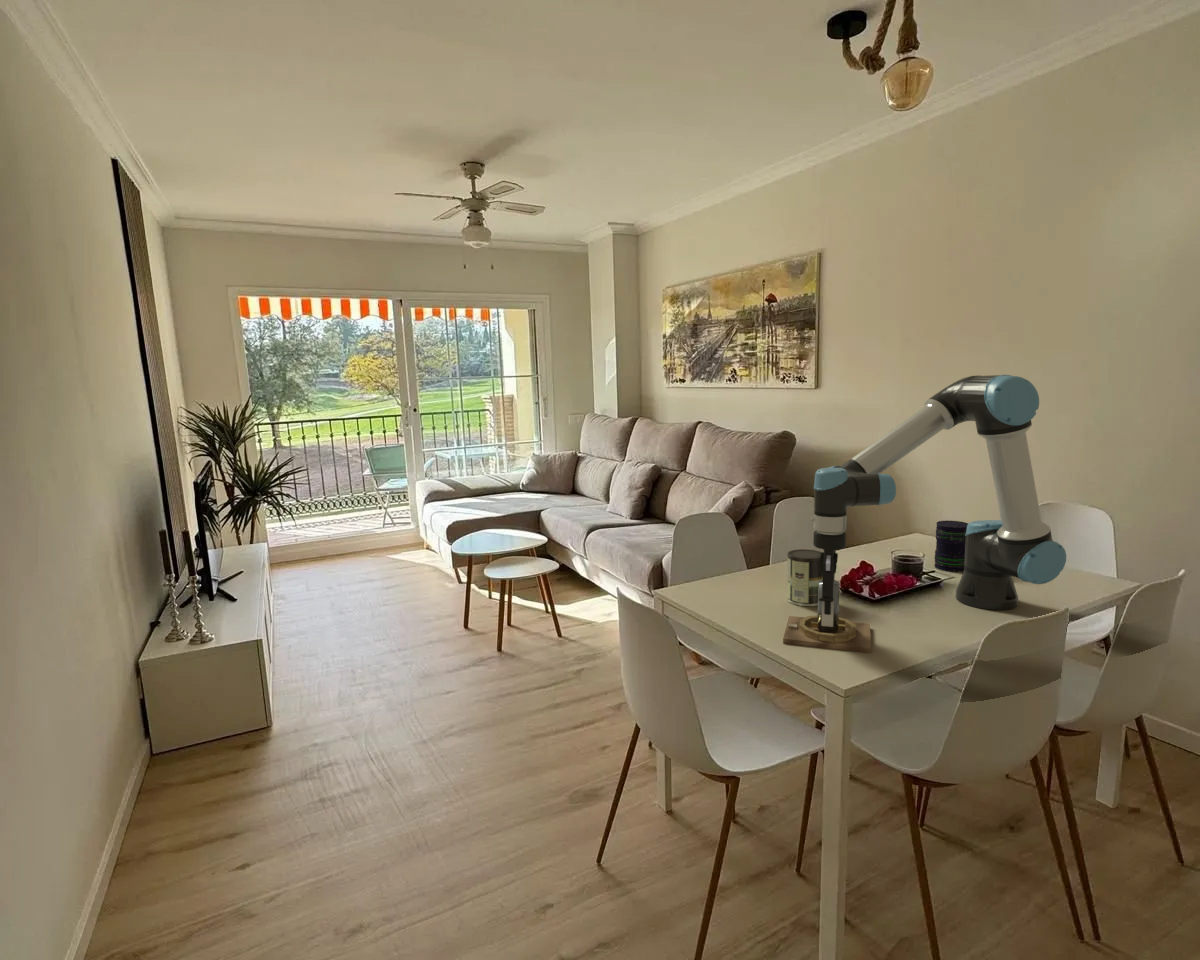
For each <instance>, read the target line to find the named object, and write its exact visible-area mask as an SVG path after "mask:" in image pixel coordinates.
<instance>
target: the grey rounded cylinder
mask: <svg viewBox="0 0 1200 960" xmlns="http://www.w3.org/2000/svg"><path fill="white" fill-rule="evenodd" d="M819 598H822V580H819V581H818V606H817V615H818V622H813V621H811V628H818V629H819V630H821V631H824V632H836V631H838V630H840V631H845V625H844V624H839V616H840V581H838V580H834V583H833V599H834V610H833V627H829V626H821V623H822V601H819Z"/></svg>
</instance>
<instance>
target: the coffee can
mask: <svg viewBox="0 0 1200 960" xmlns="http://www.w3.org/2000/svg"><path fill="white" fill-rule="evenodd" d="M821 552H822V551H820V550H815V549H805V548H804V549H802V548H800V549H799V548H798V549H793V550H790V551H788V552H787V553H786V555H787V598H786V599H787V601H788V602H789V603H790V604H792V605H795V606H799V607H818V581H819V580H822V579H823V573H822V572H821V561H820V556H821Z"/></svg>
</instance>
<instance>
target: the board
mask: <svg viewBox="0 0 1200 960" xmlns="http://www.w3.org/2000/svg"><path fill="white" fill-rule="evenodd" d="M811 621H813V622H818V614H817V615H808V616H806V617H805V616H796V615H795V616H794V615H793V616H792V615H788V620H787V623H786V626H785V630H784V633H783V637H782V643H783V644H786V645H787V644H788V645H796V646H803V647H804V646H805V647H813V648H815V647H816V648H820V649H821V648H823V649H832V650H840V651H848V652H849V651H850V652H856V653H857V652H859V653H860V652H861V653H865V654H866V653H868V654H871V653H872V641H871V640H872V639H871V638H872V637H871V623H868V622H867V623H866V622H858V621H857V622H855V621H851V620H849V619H846V618H843V617H839V624H844V625H845V631H840V630H838V631H836V632H824V631H821V630H819V629H818V628H811Z"/></svg>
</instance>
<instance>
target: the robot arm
mask: <svg viewBox="0 0 1200 960" xmlns="http://www.w3.org/2000/svg"><path fill="white" fill-rule="evenodd" d="M1039 396H1040V395H1039V392H1038V390H1037V388H1036V386H1035V385H1034V384H1033V383H1032V382H1031V381H1030V380H1028V379H1026V378H1025V377H1022V376H1018V375H1011V374H998V375H997V374H996V375H995V374H994V375H993V374H991V375H970V376H966V377H963V378H960V379H958V380H957V381H955V382H952V383H951V384H949V385H948V386H945V387H944V388H943V389H941V390H940V391H938V392H937V393H935V394H933V395H932V396H931V397H930V398H928V399H927V400H925V401H924V405H923V407H922V408H921V409H919V410H918V411H917V412H915V413H914V414H912V415H911V416H910V417H908V418H907V419H905V420H904V421H902V422H901V423H900V424H899V425H898V424H897V426H895V427H894V428H892V429H891V430H890V431H888V432H887V433H885V434H884V435H883V436H881V437H879V439H877V440H876V441H874V442H873V443H871V444H870V445H868V446H866V448H864V449H863V450H861V451H860V452H859V453H857V454H856V455H855V456H853V457H851V458H849V460H847V461H846V462H844V463H843V464H841V465H832V466H829V467H821V468H818V469H817V470H816V472H815V474H814V483H813V494H814V495H813V496H814V497H813V500H814V501H813V517H811V518H810V520H811V521H812V522H813V529H814V530H815V531H813V537H812V538H813V540H812V541H813V543H812V544H813V546H814V547H815V548H817V549H821V550H823V552H822V551H820V552H821V556H820V561H821V572H822V573H823V579H822V598H819V601H822V623H821V626H829V627H833V610H834V599H833V583H834V580H835V578H836V577H835V575H836V573H837V565H838V558H839V553H837V551H836V550H843V549H845V548H846V545H847V533H846V531H847V521H848V520H847V519H848V518H847V510H848V507H863V506H881V505H882V506H883V505H888V504H890V503H892V502H893V501H894V499H896V495H897V485H896V481H895V479H894V478H893V477H892V475H890V474H888V473H883V472H884V471H886V470H887V469H889V468H890V467H891V466H892V465H895V464H896V463H897V462H898V461H900V460H901V459H903V458H904V457H906V456H907V455H909V454H910V453H912V452H914V450H916V449H917V448H918V447H920V446H922V445H923V444H924V443H926V442H927V441H929V440H930V439H931V438H933V437H934V436H936V435H937V434H938V433H940V432H941V431H942V430H946V431H947V430H951V429H952V428H954V427H955V426H957V425H959V424H962V423H964V422H971V421H972V422H975V428H976V431H977V435H979V437H981V438H983V439H985V443H986V448H987V451H988V457H989V463H990V467H991V473H992V479H993V485H994V489H995V493H996V494H995V495H996V499H997V505H998V509H999V516H1000V519H999V520H998V519H997V520H996V519H995V520H994V519H987V520H986V519H985V520H973V521H971V522H968V525H967V530H966V534H965V536H966V540H965V564H964V572H962V573H963V574H962V576H961V578H960V580H959V582H958V584H957V587H956V590H955V599H956V600H957V601H958V602H961V603H963V604H964V605H966V606H970V607H974V608H980V609H985V610H998V611H1000V610H1001V611H1002V610H1003V611H1004V610H1011V609H1015V608H1017V607H1018V604H1019V596H1018V593H1017V588H1016V586H1015V583H1014V579H1013V577H1014V578H1016V579H1019V580H1021V581H1022V582H1026V583H1031V584H1034V585H1043V584H1047V583H1049V582H1050V583H1051V582H1052V581H1054V580H1055V579H1057V578H1058V576H1059V575H1060V574H1061V572H1062V571H1063V570H1064V568H1065V566H1066V564H1067V552H1066V550H1065V547H1064V546H1063V545H1062V544H1060V543H1059V542H1057V541H1055V540H1053V537H1052V531H1051V527H1050V526H1049V524H1047V523H1045V522H1043V521H1042V516H1041V509H1040V504H1039V500H1038V494H1037V486H1036V482H1035V476H1034V471H1033V467H1032V460H1031V459H1032V458H1031V455H1030V449H1029V444H1028V438H1027V432H1028V430H1029V429H1030V428H1031V427H1032V426H1033V425H1032V424H1033V422H1032V419H1034V417H1035V416H1036V414H1037V412H1036V411H1038V410H1039V408H1040V397H1039Z"/></svg>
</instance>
